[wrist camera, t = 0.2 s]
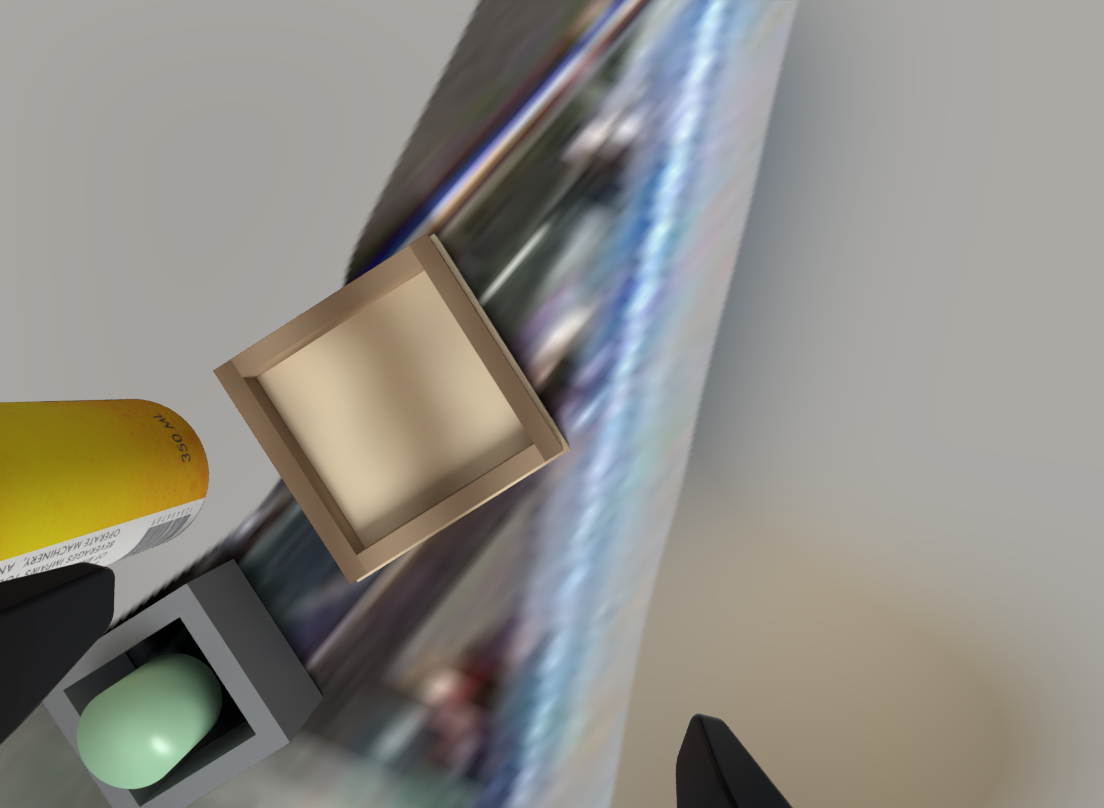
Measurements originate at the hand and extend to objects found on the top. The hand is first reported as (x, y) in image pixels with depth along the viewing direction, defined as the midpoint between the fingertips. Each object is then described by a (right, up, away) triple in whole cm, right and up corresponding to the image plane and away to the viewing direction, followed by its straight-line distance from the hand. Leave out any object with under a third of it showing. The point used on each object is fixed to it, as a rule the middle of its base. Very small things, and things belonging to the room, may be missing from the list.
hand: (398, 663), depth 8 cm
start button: (-12, -7, +13) cm, 20 cm away
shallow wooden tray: (-4, +4, +15) cm, 16 cm away
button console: (-12, -7, +15) cm, 21 cm away
